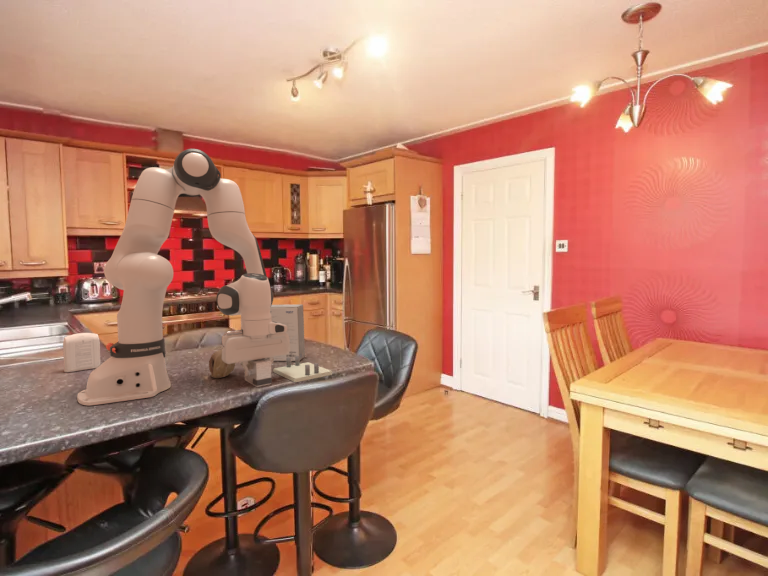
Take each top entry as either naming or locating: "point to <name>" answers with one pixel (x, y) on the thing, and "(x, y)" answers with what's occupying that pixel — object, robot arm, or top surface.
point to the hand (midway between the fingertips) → (257, 373)
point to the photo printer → (81, 352)
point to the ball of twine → (219, 366)
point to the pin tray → (301, 370)
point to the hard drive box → (291, 328)
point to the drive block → (259, 372)
